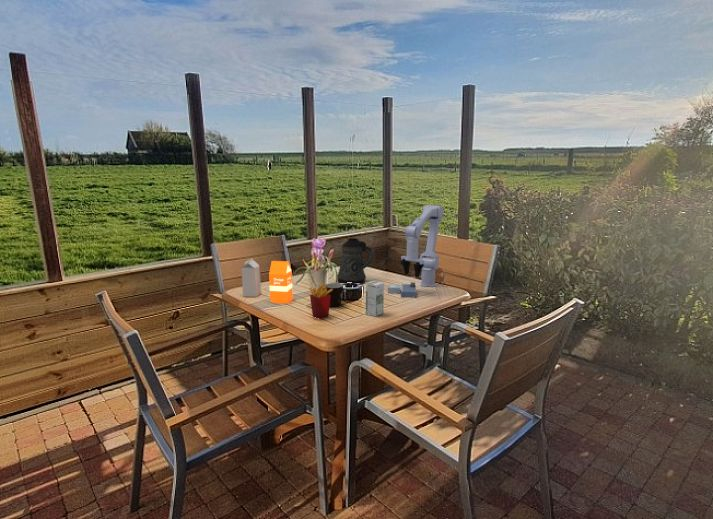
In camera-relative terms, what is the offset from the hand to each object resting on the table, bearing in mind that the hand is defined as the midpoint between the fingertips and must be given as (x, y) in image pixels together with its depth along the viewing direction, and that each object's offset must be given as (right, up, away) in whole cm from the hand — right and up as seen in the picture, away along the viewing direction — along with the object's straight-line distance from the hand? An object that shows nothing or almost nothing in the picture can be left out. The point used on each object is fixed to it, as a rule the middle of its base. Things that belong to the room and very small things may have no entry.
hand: (411, 275), depth 216 cm
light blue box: (-9, -9, +5) cm, 13 cm away
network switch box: (-2, -9, +2) cm, 10 cm away
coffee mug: (-38, -14, -15) cm, 43 cm away
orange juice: (-65, -12, -8) cm, 67 cm away
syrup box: (-20, -16, -28) cm, 38 cm away
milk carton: (-82, -10, +2) cm, 83 cm away
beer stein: (-30, -5, +27) cm, 41 cm away
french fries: (-43, -17, -32) cm, 56 cm away
